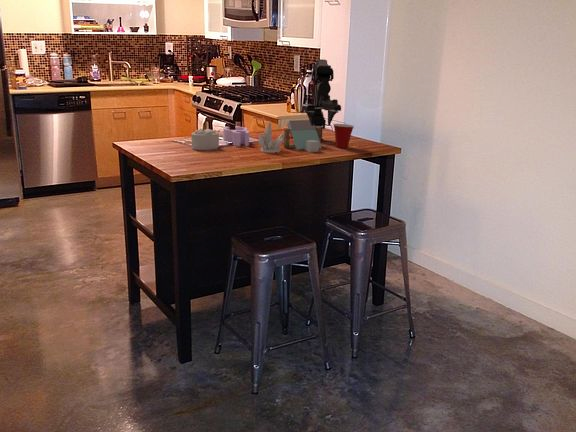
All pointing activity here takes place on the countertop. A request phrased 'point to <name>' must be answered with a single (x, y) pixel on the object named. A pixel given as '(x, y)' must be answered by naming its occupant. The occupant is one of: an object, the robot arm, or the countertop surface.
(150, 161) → the countertop surface
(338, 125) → the plastic cup
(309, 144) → the stone
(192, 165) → the countertop surface
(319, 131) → the frame
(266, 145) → the crystal
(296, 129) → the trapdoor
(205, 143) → the lumpy-topped squat cylinder
